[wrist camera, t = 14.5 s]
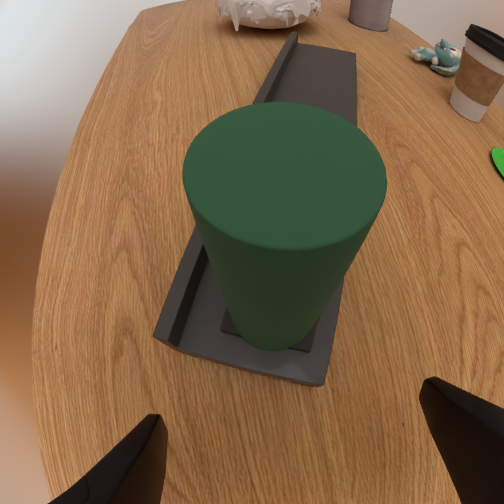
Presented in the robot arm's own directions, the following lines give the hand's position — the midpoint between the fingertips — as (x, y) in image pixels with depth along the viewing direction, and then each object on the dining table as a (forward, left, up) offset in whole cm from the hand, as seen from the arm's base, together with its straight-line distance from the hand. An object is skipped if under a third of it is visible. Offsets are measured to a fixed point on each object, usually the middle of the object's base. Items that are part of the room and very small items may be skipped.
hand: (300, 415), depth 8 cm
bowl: (+61, +15, -11) cm, 63 cm away
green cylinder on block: (+8, +2, -8) cm, 12 cm away
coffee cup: (+43, -21, -10) cm, 49 cm away
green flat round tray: (+31, -26, -11) cm, 42 cm away
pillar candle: (+76, -6, -11) cm, 77 cm away
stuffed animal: (+59, -19, -11) cm, 63 cm away
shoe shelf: (+24, +3, -10) cm, 26 cm away
